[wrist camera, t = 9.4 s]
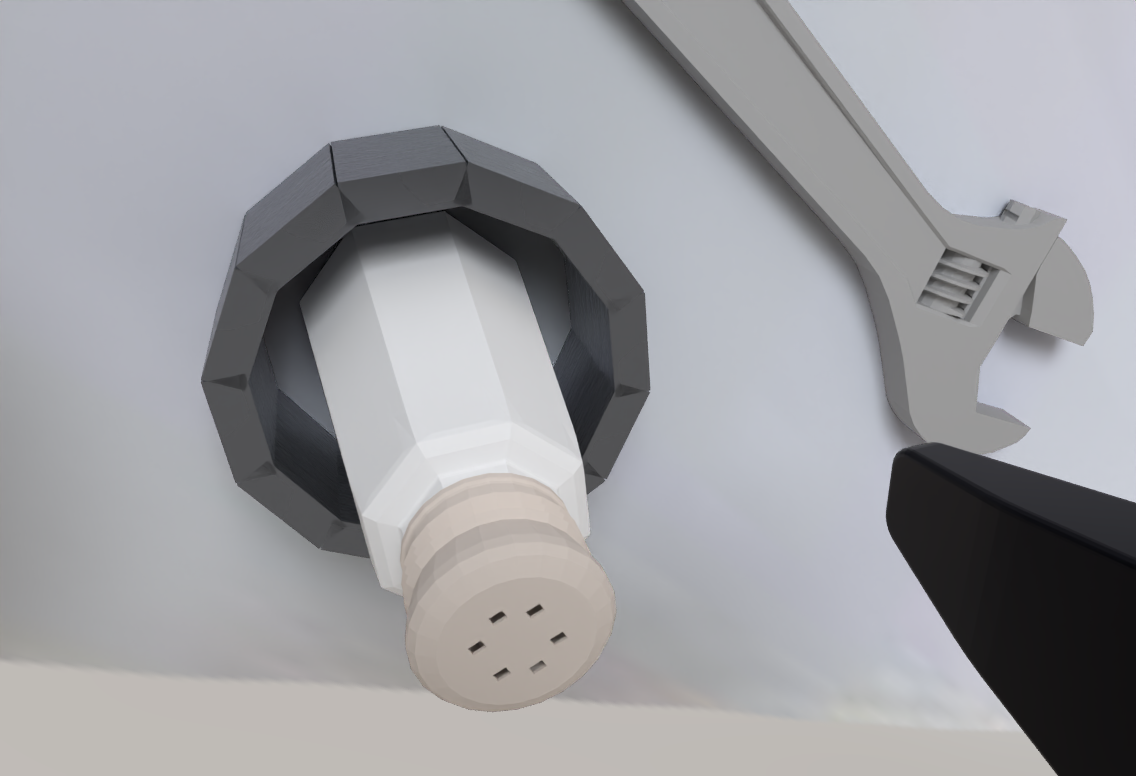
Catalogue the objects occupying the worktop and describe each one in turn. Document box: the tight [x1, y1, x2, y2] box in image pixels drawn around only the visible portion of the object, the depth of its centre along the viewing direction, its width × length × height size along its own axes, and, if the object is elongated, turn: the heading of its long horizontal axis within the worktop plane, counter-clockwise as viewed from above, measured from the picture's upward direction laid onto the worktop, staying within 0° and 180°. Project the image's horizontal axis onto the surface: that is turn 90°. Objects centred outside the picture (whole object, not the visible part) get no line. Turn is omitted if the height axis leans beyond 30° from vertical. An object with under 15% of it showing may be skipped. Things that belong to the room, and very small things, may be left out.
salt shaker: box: [299, 211, 616, 712], centre depth 16 cm, size 5×5×11 cm
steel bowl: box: [201, 125, 650, 558], centre depth 19 cm, size 9×9×4 cm
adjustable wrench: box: [621, 0, 1094, 454], centre depth 20 cm, size 25×6×2 cm, turn 41°
